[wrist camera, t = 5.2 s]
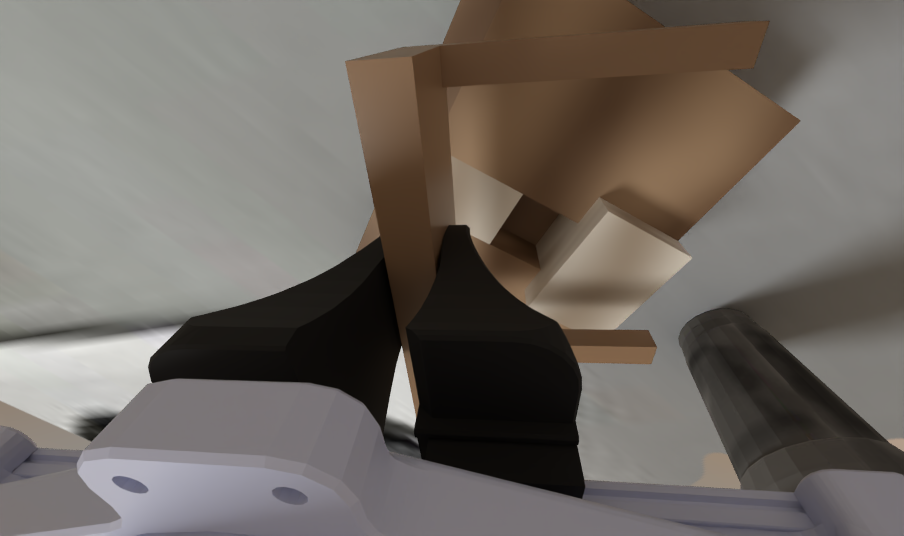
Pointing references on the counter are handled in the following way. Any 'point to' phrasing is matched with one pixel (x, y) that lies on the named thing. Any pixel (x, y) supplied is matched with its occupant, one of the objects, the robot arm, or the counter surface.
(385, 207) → the wooden l-shaped bracket
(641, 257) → the wooden block stack
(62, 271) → the counter surface
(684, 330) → the beverage cup
